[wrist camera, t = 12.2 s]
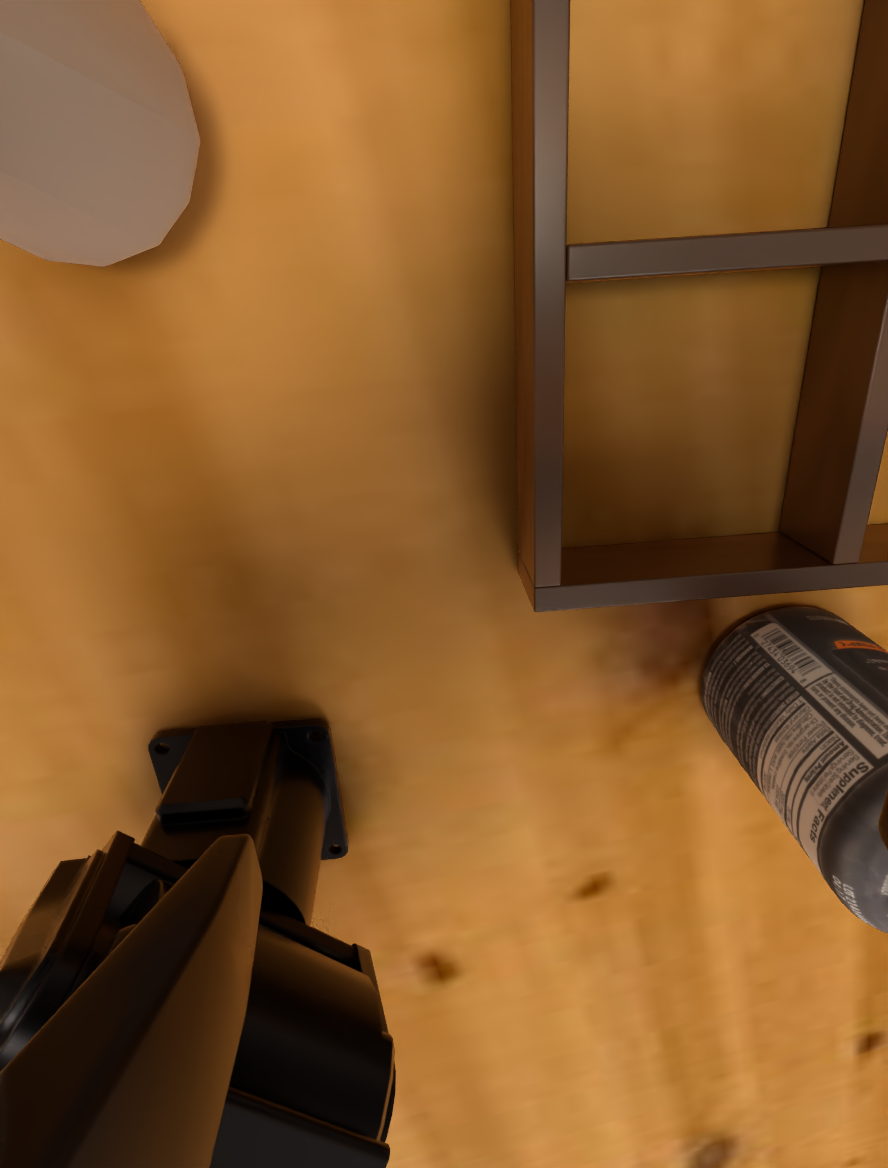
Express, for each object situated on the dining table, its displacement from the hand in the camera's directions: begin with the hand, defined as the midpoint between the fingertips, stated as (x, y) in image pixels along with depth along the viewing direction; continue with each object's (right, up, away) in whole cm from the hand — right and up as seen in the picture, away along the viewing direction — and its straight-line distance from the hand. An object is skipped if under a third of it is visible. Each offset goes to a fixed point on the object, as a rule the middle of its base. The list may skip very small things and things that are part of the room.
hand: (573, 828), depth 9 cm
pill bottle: (+11, 0, +15) cm, 18 cm away
